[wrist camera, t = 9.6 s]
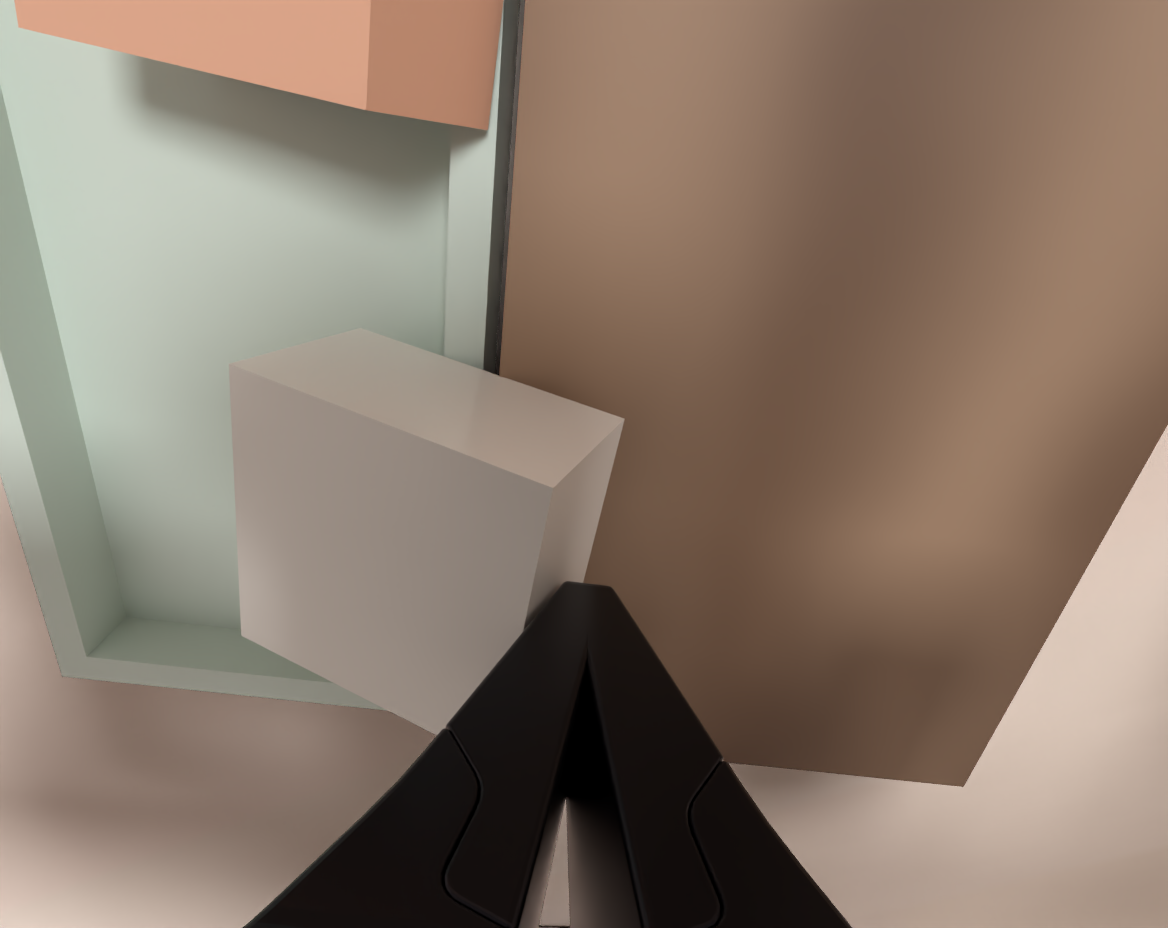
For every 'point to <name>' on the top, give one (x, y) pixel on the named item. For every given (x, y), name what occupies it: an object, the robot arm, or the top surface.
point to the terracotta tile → (308, 46)
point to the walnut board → (847, 340)
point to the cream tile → (405, 513)
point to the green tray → (202, 320)
